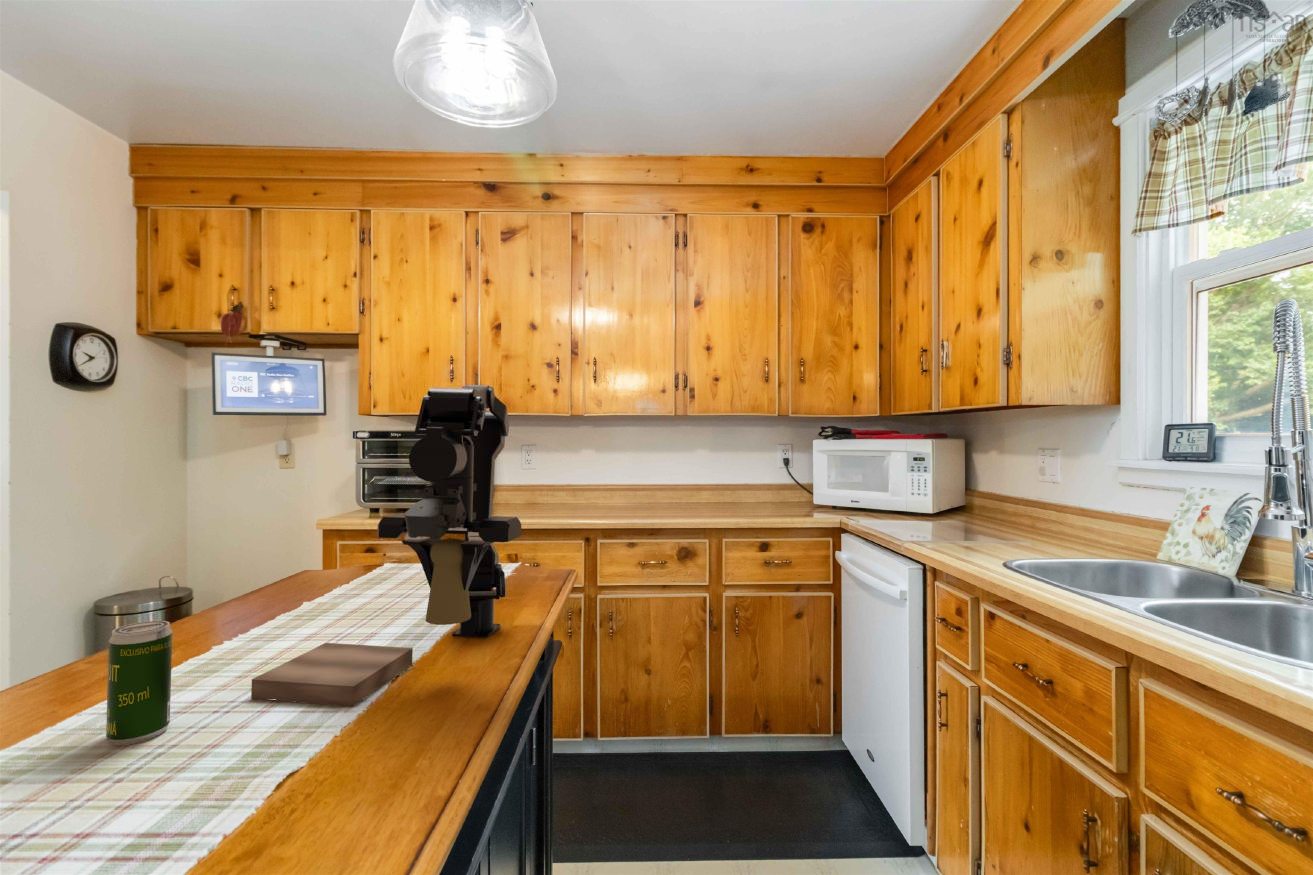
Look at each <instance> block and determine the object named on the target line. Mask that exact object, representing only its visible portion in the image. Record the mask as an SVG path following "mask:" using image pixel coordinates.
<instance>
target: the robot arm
mask: <svg viewBox="0 0 1313 875" xmlns="http://www.w3.org/2000/svg"><path fill="white" fill-rule="evenodd" d="M487 409H488V410H487ZM418 412H419V413H418V417H417V421H416V424H415V429H414V434H415V435H416V436H419V435H420V436H422V435H423V436H424V437H422V438H421V439H418V440H417V442H415V444H414V445H413V446H412V448H411V450H410V453H409V455H408V463H409V464H408V465H409V466H410V469H411V471H412V473H414V474H413V475H415V476H416V477H418V478H419V479H421V480H423V481H425V482H429V484H428V485H424V489H423V496H422V500H419V501H417V502H416V503H415V504H413V505H412V506H411V507H410V508H409V509H408V510H407V511H405V512H403V513H401V512H400V513H399V512H398V513H395V514H390V515H385V516H382V517H381V519H379V521H378V523H377V526H376V527H377V531H376V532H377V534H376V537H377V538H378V539H379V538H380V539H399V538H400V537H401V536H402V535H403V534H404V539H402V540H401V543H402V545H405V546H408V547H409V548H411V549H412V550H413V552H415V554H416V556H417V558H418V559H419V562H420V564H421V567H422V570H423V571H424V575H425V578H426V581H427V583H428V586H429V588H431V582H432V576H433V569H434V563H433V561H432V560H431V557H430V550H431V547H432V545H433V543H434V542H436V541H438V540H442V538H443V537H444V536H446V534H447V535H451V534H453V535H464V539H463V540H465V541H466V542H464V543H461V547H462V550H463V553H464V558H463V572H462V584H463V588H464V590H467V589H468V592H469V601H470V609H471V618H470V619H469V620H467V621H464V622H461V623H459V627H458V628H456V629H455V630H453V631H452V632H451V636H452V637H463V638H465V637H467V638H468V637H469V638H479V639H480V638H484V639H486V638H489V637H490V636H491V635H492V634H494V633H496V631H498V630H499V629H500V628H501V623H495V622H494V619H495V616H494V615H495V600H500V599H501V598H504V597H506V596H507V594H506V593H507V592H506V591H507V588H506V587H507V585H506V584H507V583H506V573H505V571H504V570H503V567H502V564H501V563H499V561H500V556H499V553H498V550H496V548H495V546H494V543H509V542H511V541H514V540H516V539H517V538H520V537H521V536H522V523H521V520H520V519H519V518H518V516H502V515H501V516H497V515H494V516H493V501H494V483H495V481H494V480H495V465H496V463H495V462H496V460H497V458H498V457H499V455H500V454H501V453H502V452H503V449H504V448H505V443H506V437H508V436H509V431H510V430H509V429H510V423H509V422H510V421H509V413H508V408H507V405H505V404H504V403H503V402H502V401H501V400H500V399H499V398H498V397H497V396H496V395H495V389H494V387H493V386H490V385H488V384H487V385H485V384H466V385H463V386H462V387H460V388H459V387H430V388H429V389H428V390H427V393H426V394H425V395H424V396H423V397H422V400H421V404H420V408H419V411H418Z"/></svg>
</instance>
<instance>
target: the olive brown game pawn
mask: <svg viewBox="0 0 1313 875" xmlns="http://www.w3.org/2000/svg"><path fill="white" fill-rule="evenodd" d="M464 542H466V541H465V540H464V539H462V538H456V537H455V538H454V537H453V538H443V539H442V538H441V540H438V541H436V542H434V543H433V545H432V547H431V550H430V557H431V560H432V561H433V563H434V569H433V576H432V582H431V588H430V587H429V588H430V589H429V595H428V602H427V609H426V613H425V614H426V615H425V622H426V623H428V624H431V625H439V626H444V625H445V626H447V625H457V624H460V623H461V622H464V621H467V620H469V619H470V618H471V609H470V601H469V592H468V589H467V590H464V588H463V584H462V572H463V558H464V553H463V550H462V547H461V543H464Z"/></svg>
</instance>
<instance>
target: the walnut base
mask: <svg viewBox="0 0 1313 875" xmlns="http://www.w3.org/2000/svg"><path fill="white" fill-rule="evenodd" d="M413 651H414V650H413V647H403V646H402V647H400V646H387V645H386V646H385V645H384V646H383V645H372V644H371V645H368V644H367V645H366V644H352V643H334V642H324V643H323V644H320V645H319V646H317V647H314V648H312V649H311V650H308V651H306V652H305V653H302V654H300V655H298V656H296V657H294V658H292V659H291V660H288V661H286V662H284V663H282V664H280V665H277V666H276V667H273V668H272V669H270V670H268V671H266V672H264V673H262V674H260V675H257V676H255V677H254V678H252V679H251V693H250V694H251V695H250V698H251V699H250V700H259V699H276V700H283V701H282V702H286V701H296V702H295V703H299V702H306V703H305V704H313V703H314V704H315V705H327V706H328V705H329V706H342V707H354V706H356V705H357V704H358V702H359V701H360V702H362V701H363V700H364V699H365V697H366V696H367V697H368V695H369V694H370V695H371V694H373V693H374V692H375V690H376V691H378V689H380V688H381V687H383V686H384V685H386V684H387V683H389V682H390V681H391V680H393V679H394V678H396V677H397V676H398V675H399V674H402V673H403V672H404V671H406V670H407V669H409V668H410V667H411V666H413ZM409 666H410V667H409ZM385 683H386V684H385ZM382 685H383V686H382ZM372 692H373V693H372ZM370 695H369V696H370ZM367 697H366V698H367ZM363 698H364V699H363ZM362 699H363V700H362ZM360 702H359V703H360ZM355 704H356V705H355Z"/></svg>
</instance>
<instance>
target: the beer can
mask: <svg viewBox="0 0 1313 875" xmlns="http://www.w3.org/2000/svg"><path fill="white" fill-rule="evenodd" d="M170 626H171V622H170V621H167V620H147V621H146V620H145V621H142V622H141V621H140V622H134V623H131V624H129V623H128V624H126V625H122V626H119V627H116V628H114V629H113V630H112V631H111V636H110V639H109V640H108V658H107V659H108V661H107V662H108V663H107V665H108V666H107V694H106V700H107V701H106V728H105V730H106V732H105V737H106V739H107V741H108V742H109V743H110V744H111V745H113V746H129V745H136V744H140V743H143V742H146V741H150V740H151V739H154V738H157V737H159V736H160V735H161V734H163V733H165V731H166V730H167V728H168V726H169V724H170V722H171V694H172V693H171V690H172V688H171V687H172V651H173V649H172V648H173V630H172V628H171V627H170Z"/></svg>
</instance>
